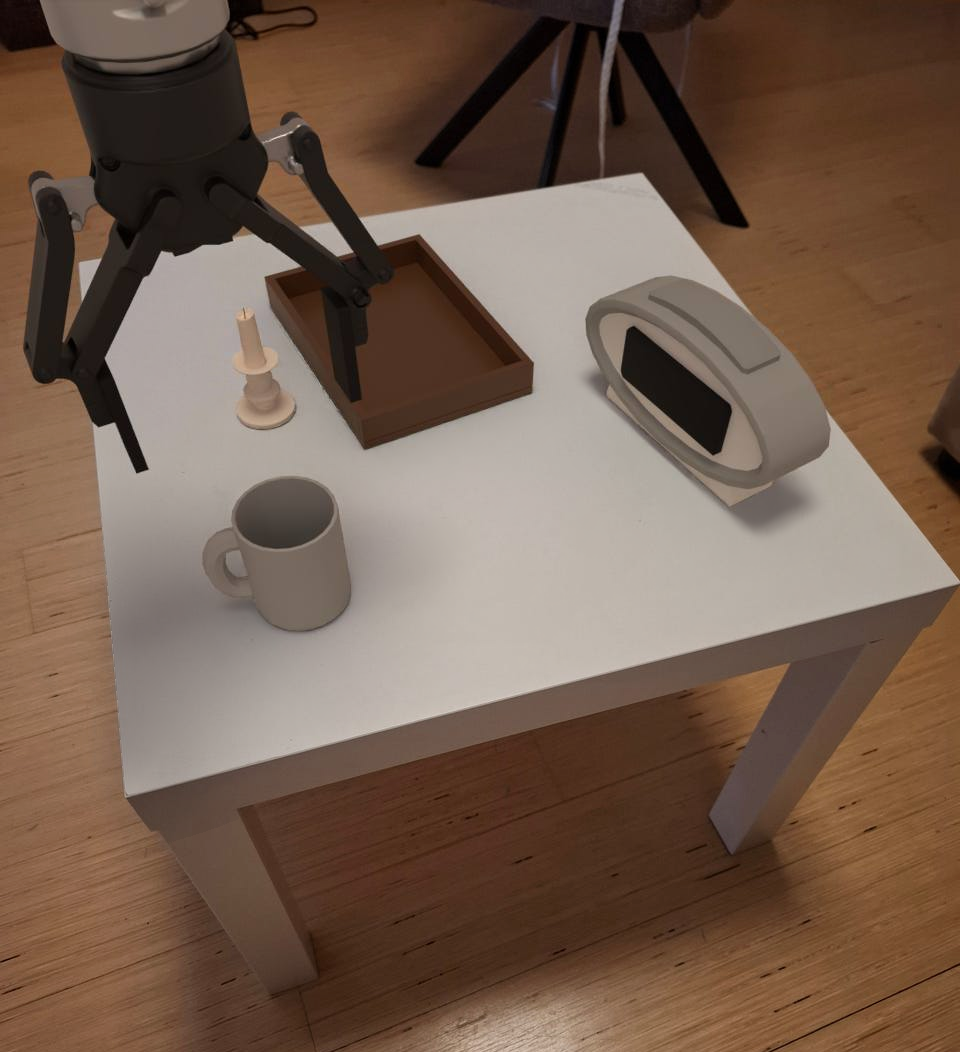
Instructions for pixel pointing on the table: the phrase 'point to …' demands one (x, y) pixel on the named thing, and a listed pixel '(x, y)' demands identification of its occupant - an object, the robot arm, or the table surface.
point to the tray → (408, 346)
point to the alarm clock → (708, 384)
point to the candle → (259, 380)
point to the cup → (284, 553)
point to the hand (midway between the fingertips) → (245, 423)
